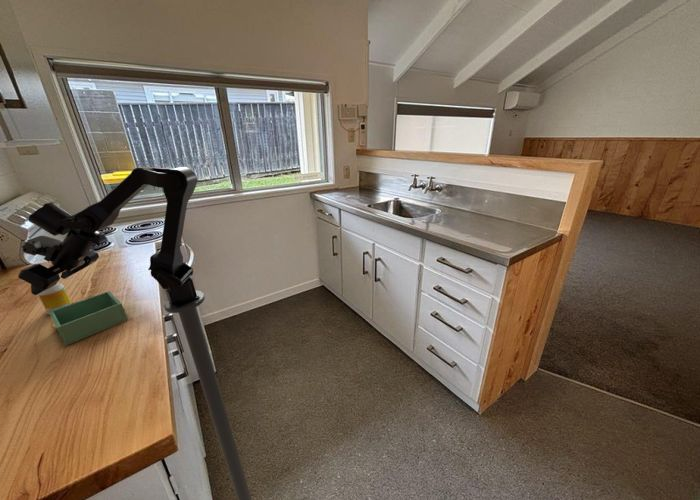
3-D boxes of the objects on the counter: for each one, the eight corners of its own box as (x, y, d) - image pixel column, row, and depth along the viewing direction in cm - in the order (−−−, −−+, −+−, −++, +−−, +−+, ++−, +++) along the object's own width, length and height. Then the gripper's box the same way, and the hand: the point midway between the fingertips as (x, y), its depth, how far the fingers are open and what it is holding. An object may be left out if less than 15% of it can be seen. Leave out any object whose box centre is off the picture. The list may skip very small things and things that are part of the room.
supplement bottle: (76, 307, 82) (61, 278, 78) (50, 317, 78) (34, 286, 74) (69, 302, 85) (55, 273, 81) (45, 311, 80) (29, 281, 77)
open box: (115, 306, 82) (109, 290, 80) (128, 319, 75) (121, 303, 73) (57, 328, 73) (48, 311, 71) (65, 345, 66) (56, 328, 64)
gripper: (72, 217, 81) (47, 255, 84) (7, 238, 64) (-22, 285, 67) (111, 240, 85) (85, 276, 88) (59, 267, 68) (30, 310, 71)
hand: (49, 285), depth 78 cm, fingers open, 9 cm apart
